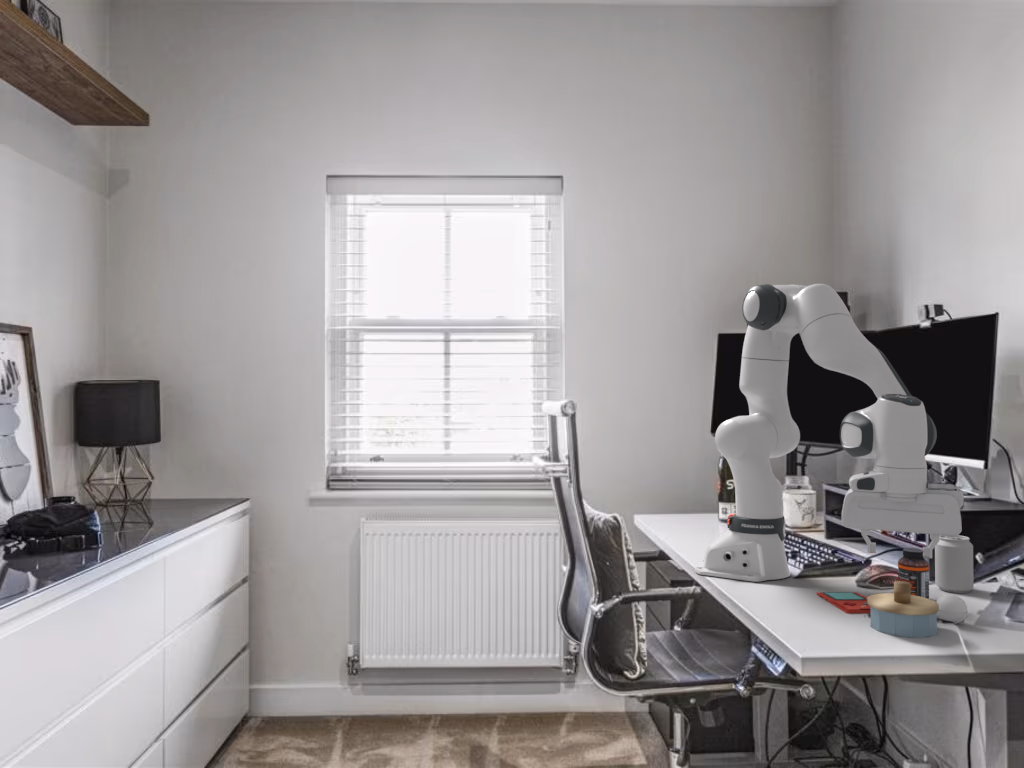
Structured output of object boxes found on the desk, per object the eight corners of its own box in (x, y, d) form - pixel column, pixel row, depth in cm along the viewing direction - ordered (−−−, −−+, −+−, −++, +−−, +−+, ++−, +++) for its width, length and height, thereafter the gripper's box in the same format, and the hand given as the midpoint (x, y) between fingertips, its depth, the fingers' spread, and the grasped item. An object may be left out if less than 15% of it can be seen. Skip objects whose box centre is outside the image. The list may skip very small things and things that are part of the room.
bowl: (871, 638, 146) (870, 610, 146) (870, 621, 156) (870, 595, 156) (938, 645, 141) (938, 617, 141) (933, 627, 151) (933, 601, 151)
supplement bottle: (892, 602, 169) (892, 549, 169) (905, 597, 173) (904, 545, 173) (922, 608, 164) (921, 553, 164) (934, 603, 168) (933, 549, 168)
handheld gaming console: (846, 608, 158) (815, 591, 173) (846, 614, 158) (815, 596, 173) (891, 608, 159) (856, 591, 174) (891, 614, 159) (856, 596, 174)
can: (978, 594, 174) (978, 540, 174) (941, 593, 176) (941, 539, 176) (966, 586, 182) (965, 533, 182) (930, 584, 183) (930, 532, 183)
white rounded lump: (932, 617, 158) (932, 589, 158) (965, 620, 156) (965, 592, 156) (937, 629, 151) (937, 599, 151) (972, 632, 149) (971, 602, 149)
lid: (867, 611, 146) (867, 587, 146) (867, 594, 157) (866, 573, 157) (941, 618, 141) (941, 593, 141) (936, 600, 152) (935, 578, 152)
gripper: (961, 482, 147) (960, 556, 148) (842, 476, 156) (841, 546, 156) (965, 487, 142) (964, 564, 142) (841, 480, 150) (840, 553, 150)
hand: (899, 555), depth 149 cm, fingers open, 8 cm apart
